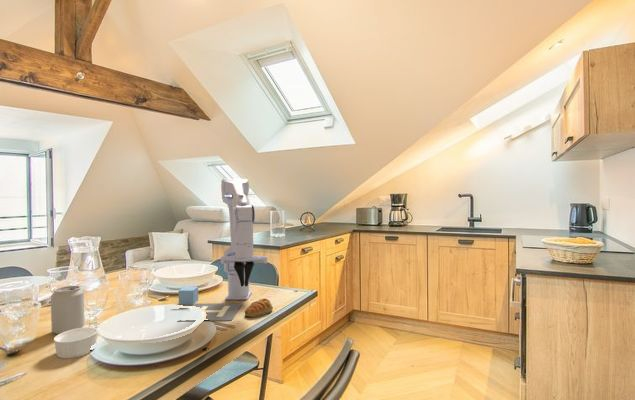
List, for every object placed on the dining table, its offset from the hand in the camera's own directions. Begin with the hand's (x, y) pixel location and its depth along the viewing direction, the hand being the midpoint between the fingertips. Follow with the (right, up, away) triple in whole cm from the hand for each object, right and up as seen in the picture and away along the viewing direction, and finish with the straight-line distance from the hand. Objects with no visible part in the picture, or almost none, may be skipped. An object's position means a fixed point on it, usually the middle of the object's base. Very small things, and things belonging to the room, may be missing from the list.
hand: (244, 285), depth 113 cm
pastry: (+5, -9, -1) cm, 10 cm away
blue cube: (-22, -8, +10) cm, 25 cm away
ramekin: (-35, -10, -27) cm, 45 cm away
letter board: (-10, -9, 0) cm, 13 cm away
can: (-46, -9, -14) cm, 49 cm away
